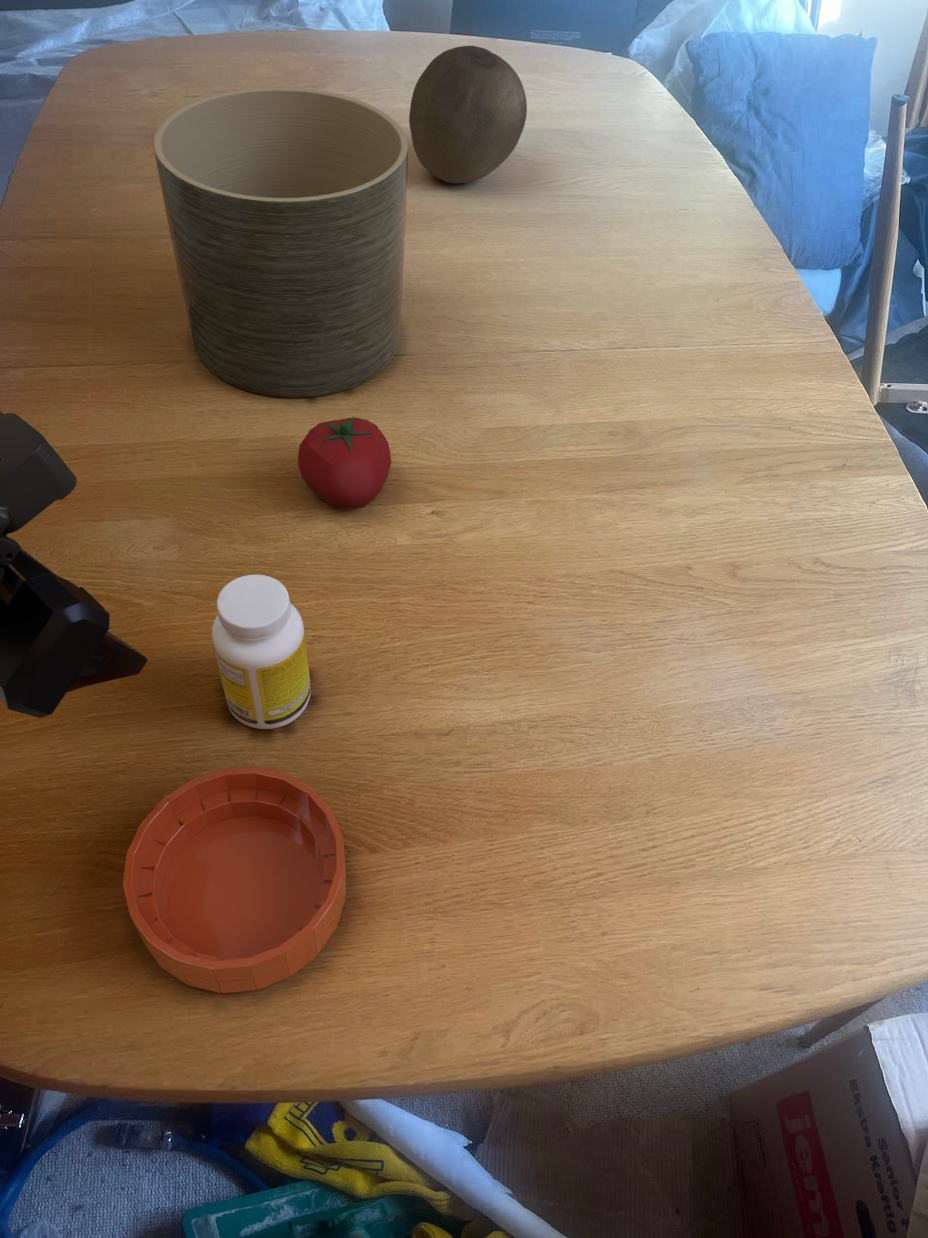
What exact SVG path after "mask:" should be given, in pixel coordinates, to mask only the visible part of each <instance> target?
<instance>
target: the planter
mask: <svg viewBox="0 0 928 1238" xmlns="http://www.w3.org/2000/svg"><path fill="white" fill-rule="evenodd" d="M152 143H153V144H152V145H153V151H154V152H153V153H154V157H155V162H156V163H155V164H156V168H157V173H158V179H159V184H160V189H161V195H162V199H163V205H164V210H165V215H166V220H167V225H168V230H169V236H170V240H171V245H172V250H173V255H174V259H175V264H176V270H177V273H178V278H179V282H180V288H181V292H182V296H183V301H184V306H185V310H186V315H187V319H188V324H189V329H190V334H191V338H192V339H191V340H192V342H193V343H192V344H193V346H194V350H195V352H196V354H197V356H198V359H200V361H201V363H202V364H203V365H204V366H205V367H206V368H207V369H208V370H209V371H210V372H211V373H212V374H213V375H215V377H218V378H219V379H221V380H222V381H224V382H226V383H228V384H230V385H232V386H234V387H236V388H239V389H242V390H245V391H248V392H251V393H256V394H259V395H264V396H270V397H278V398H313V397H321V396H326V395H332V394H336V393H339V392H343V391H347V390H349V389H352V388H355V387H357V386H360V385H362V384H363V383H366V382H368V381H369V380H371V379H372V378H374V377H376V376H377V375H378V374H380V373H381V372H382V371H383V370H384V369H385V368H386V367H387V366H388V365H389V364H390V363H391V361H392V360H393V359H394V356H395V355H396V354H397V351H398V348H399V345H400V339H401V324H402V323H401V322H402V304H403V303H402V302H403V301H402V300H403V285H404V268H405V266H404V265H405V250H406V249H405V248H406V226H407V225H406V224H407V223H406V222H407V197H408V194H407V193H408V166H409V165H408V164H409V162H408V161H409V142H408V138H407V135H406V133H405V131H404V130H403V128H402V127H401V125H400V124H399V123H398V122H397V121H396V120H395V119H394V118H393V117H392V116H390V115H388V114H387V113H386V112H384V111H383V110H381V109H379V108H378V107H376V106H373V105H371V104H370V103H367V102H364V101H362V100H360V99H356V98H354V97H350V96H347V95H345V94H339V93H336V92H331V91H327V90H321V89H313V88H305V87H290V86H264V87H263V86H262V87H250V88H241V89H235V90H229V91H224V92H219V93H215V94H212V95H208V96H205V97H201V98H199V99H196V100H194V101H192V102H190V103H187V104H184V105H183V106H181V107H180V108H178V109H176V110H175V111H173V112H172V113H171V114H169V115H168V116H166V117H165V119H163V121H162V122H160V124H159V126H158V127H157V129H156V131H155V133H154V135H153V142H152Z"/></svg>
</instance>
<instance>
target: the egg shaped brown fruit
mask: <svg viewBox="0 0 928 1238" xmlns="http://www.w3.org/2000/svg"><path fill="white" fill-rule="evenodd" d="M527 112H528V103H527V96H526V92H525V88H524V85H523V82H522V81H521V78H520V77H519V75H518V73H517V72H516V70H515V69H514V68H513V67H512V66H511V65H510V64H509V63H508V62H507V61H506V60H504V59H503V58H502V57H501V56H499V55H497V54H496V53H494V52H492V51H490V50H489V49H487V48H484V47H480V46H475V45H461V46H456V47H453V48H450V49H447V50H445V51H443V52H441V53H440V54H438V55H436V56H435V57H434V58H433V59H432V60H431V61H430V62H429V64H427V66H426V68H425V69H424V70H423V72H422V73H421V75H420V76H419V78H418V80H417V82H416V83H415V85H414V89H413V92H412V96H411V101H410V106H409V113H408V114H409V115H408V116H409V117H408V123H409V130H410V135H411V136H410V137H411V142H412V147H413V149H414V153H415V155H416V157H417V159H418V161H419V163H420V164H421V165H422V167H424V169H425V170H427V171H428V172H429V174H431V175H433V176H434V177H435V178H437V179H439V180H441V181H443V182H446V183H449V184H467V183H472V182H476V181H478V180H480V179H482V178H484V177H487V176H488V175H490V174H491V173H493V172H494V171H495V170H497V168H499V167H500V165H502V164H503V163H504V162H505V161H506V160H507V159H508V158H509V157H510V156H511V154H512V153H513V151H514V150H515V149H516V147H517V145H518V142H519V140H520V139H521V136H522V134H523V132H524V128H525V125H526V120H527Z"/></svg>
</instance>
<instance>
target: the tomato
mask: <svg viewBox="0 0 928 1238" xmlns="http://www.w3.org/2000/svg"><path fill="white" fill-rule="evenodd" d="M391 465H392V456H391V449H390V445H389V441H388V439H387V438H386V436H385V434H384V433H383V432H382V430H381V429H380V427H379V426H378V425H377V424H376V423H374V422H372V421H370V420H368V419H364V418H360V417H355V416H352V417H346V418H340V419H335V420H334V419H333V420H329V421H322V422H319V423H317V425H315V426H314V427H312V428H311V429H309V431H308V432H307V434H306V435H305V437H304V438H303V440H302V441H301V443H300V444H299V448H298V452H297V466H298V469H299V470H298V471H299V472H300V477H301V478H302V479H303V482H304V484H305V485H306V487H307V488H308V489H310V491H311V492H312V493H313V494H315V495H317V496H318V497H319V498H321V499H322V500H324V501H325V502H326V503H328V504H330V505H331V506H333V508H338V509H345V510H357V509H361V508H365V507H366V506H367V505H369V504H370V503H372V501H374V500H375V499H376V498H377V497H378V495H380V492H381V491H382V489H383V487H384V486H385V483H386V481H387V479H388V477H389V472H390V469H391Z"/></svg>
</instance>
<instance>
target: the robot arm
mask: <svg viewBox="0 0 928 1238" xmlns="http://www.w3.org/2000/svg"><path fill="white" fill-rule="evenodd" d="M77 483H78V480H77V477H76V475H75V474H74V473H73V471H72V470H71V469H70V467H68V465H67V464H66V462H65V461H64V460H63V459H62V458H61V457H60V455H59V454H58V453H57V451H56V450H55V449H54V447H53V446H52V445H51V443H49V442H48V440H47V439H46V438H45V436H44V435H42V433H40V431H38V430H37V429H36V428H34V427H33V426H32V425H31V424H30V423H28V422H27V421H26V420H24V419H23V418H22V417H20V416H19V415H18V414H16V413H13V412H6V413H3V412H2V411H1V410H0V701H1V703H2V704H3V705H4V706H5V707H6V708H7V710H9V711H12V712H17V713H20V714H24V715H27V716H31V717H34V718H38V719H42V718H45V717H49V716H52V715H53V714H54V712H55V710H56V709H57V707H58V706H59V704H60V703H61V702H62V700H63V699H64V697H65V696H66V694H67V693H70V692H73V691H75V690H79V689H81V688H85V687H90V686H94V685H98V684H101V683H106V682H107V683H108V682H110V681H115V680H120V679H123V678H124V679H125V678H129V677H132V676H137V675H139V674H141V672H142V670H144V668H145V666H146V664H147V663H148V657H147V656H146V655H144V654H143V653H141V652H140V651H138V650H137V649H136V648H134V647H133V646H131V645H130V644H128V643H127V642H125V641H124V640H122V639H121V638H119V637H117V636H116V635H114V634H113V633H111V632H109V630H110V620H111V614H110V613H109V612H108V611H107V610H106V609H105V608H104V606H103V605H102V604H101V603H100V602H98V601H97V599H95V597H93V596H92V595H91V594H90V593H89V592H88V591H87V590H86V589H85V588H84V587H82V586H80V587H79V586H78V585H76V584H74V583H73V582H72V581H70V580H68V579H66V578H64V577H62V576H59V575H58V574H56V573H54V572H53V571H52V570H51V569H49V568H48V567H47V566H46V565H44V564H42V563H41V562H40V561H39V560H38V559H36V558H35V557H34V556H32V555H31V554H29V553H28V552H27V551H25V550H24V549H23V548H22V546H21V544H19V543H18V541H16V540H15V539H14V538H12V537H9V536H7V535H8V534H13V533H15V532H17V531H19V530H20V529H22V528H24V526H26V525H27V524H28V523H30V522H31V521H32V520H33V519H34V518H36V517H37V516H38V515H40V514H41V513H42V512H44V510H46V509H47V508H48V507H50V506H51V505H52V504H54V503H55V502H56V501H62V500H64V499H65V498H66V497H68V496H69V495H70V494H71V493H72V492H73V491H74V490H75V488H76V486H77Z"/></svg>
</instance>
